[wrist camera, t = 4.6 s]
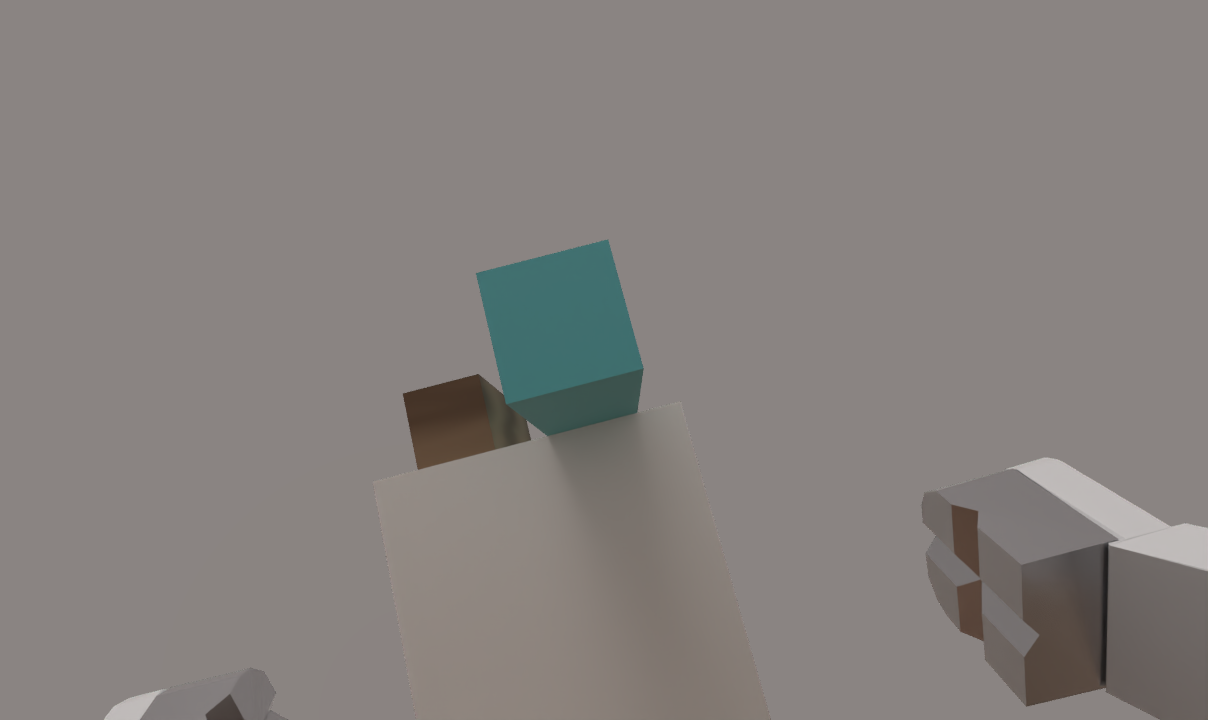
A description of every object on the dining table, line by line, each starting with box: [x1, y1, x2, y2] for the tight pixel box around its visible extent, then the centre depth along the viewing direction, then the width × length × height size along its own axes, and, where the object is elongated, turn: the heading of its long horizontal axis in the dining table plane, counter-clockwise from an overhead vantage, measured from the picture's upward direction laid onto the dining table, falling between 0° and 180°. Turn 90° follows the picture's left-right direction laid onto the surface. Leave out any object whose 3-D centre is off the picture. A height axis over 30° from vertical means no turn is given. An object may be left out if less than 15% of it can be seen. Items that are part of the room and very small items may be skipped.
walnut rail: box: [403, 374, 531, 470], centre depth 31 cm, size 12×3×3 cm, turn 179°
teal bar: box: [476, 240, 643, 436], centre depth 29 cm, size 24×4×4 cm, turn 179°
